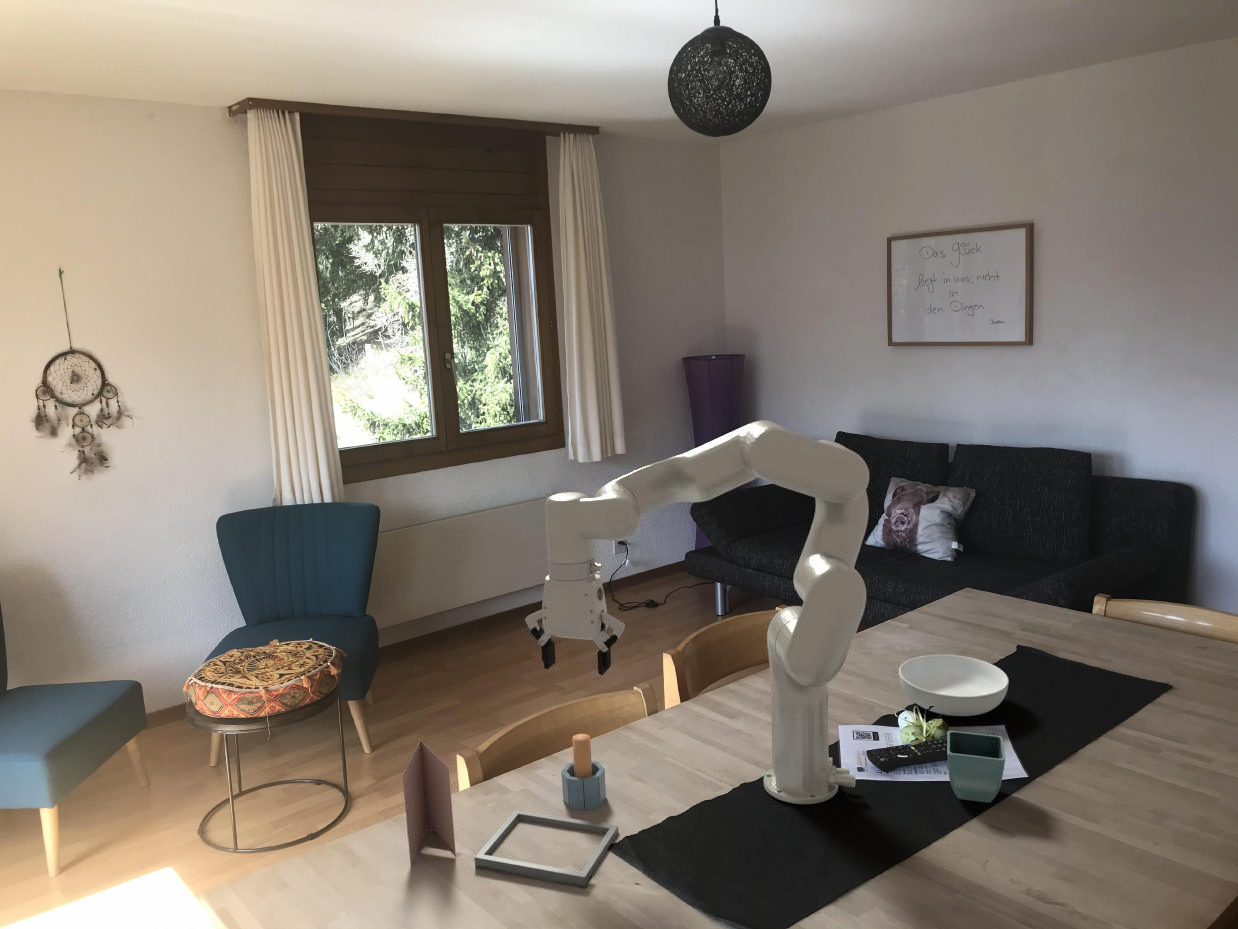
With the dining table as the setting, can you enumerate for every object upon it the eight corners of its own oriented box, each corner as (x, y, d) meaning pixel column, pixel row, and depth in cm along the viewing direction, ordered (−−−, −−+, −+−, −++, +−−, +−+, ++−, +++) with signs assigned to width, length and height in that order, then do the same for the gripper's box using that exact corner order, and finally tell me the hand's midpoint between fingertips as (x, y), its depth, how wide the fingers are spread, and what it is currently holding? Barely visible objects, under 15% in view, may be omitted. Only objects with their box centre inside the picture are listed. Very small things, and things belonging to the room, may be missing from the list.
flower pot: (1001, 784, 160) (1002, 735, 159) (1004, 811, 152) (1005, 759, 150) (946, 778, 163) (947, 729, 162) (946, 804, 155) (947, 753, 153)
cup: (610, 795, 162) (608, 763, 161) (596, 816, 156) (594, 782, 155) (574, 790, 165) (572, 758, 164) (558, 810, 158) (556, 777, 157)
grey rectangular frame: (618, 836, 150) (617, 826, 150) (585, 888, 137) (584, 877, 137) (516, 819, 156) (515, 809, 156) (475, 868, 143) (474, 857, 143)
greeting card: (422, 825, 156) (415, 740, 153) (467, 824, 156) (460, 739, 153) (405, 866, 145) (396, 775, 142) (453, 865, 144) (445, 774, 142)
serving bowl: (893, 721, 186) (893, 688, 184) (904, 680, 205) (904, 650, 203) (1007, 735, 178) (1008, 700, 177) (1007, 691, 197) (1008, 660, 196)
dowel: (596, 795, 161) (592, 735, 159) (589, 804, 158) (586, 743, 156) (579, 792, 162) (576, 733, 160) (573, 801, 159) (569, 740, 158)
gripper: (629, 565, 154) (633, 665, 157) (533, 559, 160) (538, 656, 163) (613, 579, 147) (617, 683, 150) (513, 572, 153) (519, 672, 156)
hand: (576, 668), depth 156 cm, fingers open, 9 cm apart
